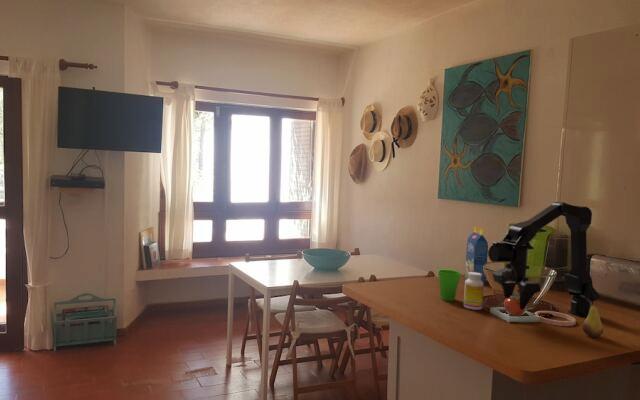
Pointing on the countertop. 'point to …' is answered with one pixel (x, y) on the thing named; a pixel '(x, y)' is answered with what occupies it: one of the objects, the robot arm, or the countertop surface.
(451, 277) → the cup
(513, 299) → the tomato
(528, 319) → the tray
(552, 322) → the saucer ring
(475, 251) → the blue food package
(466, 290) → the supplement bottle
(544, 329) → the countertop surface
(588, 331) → the fruit
